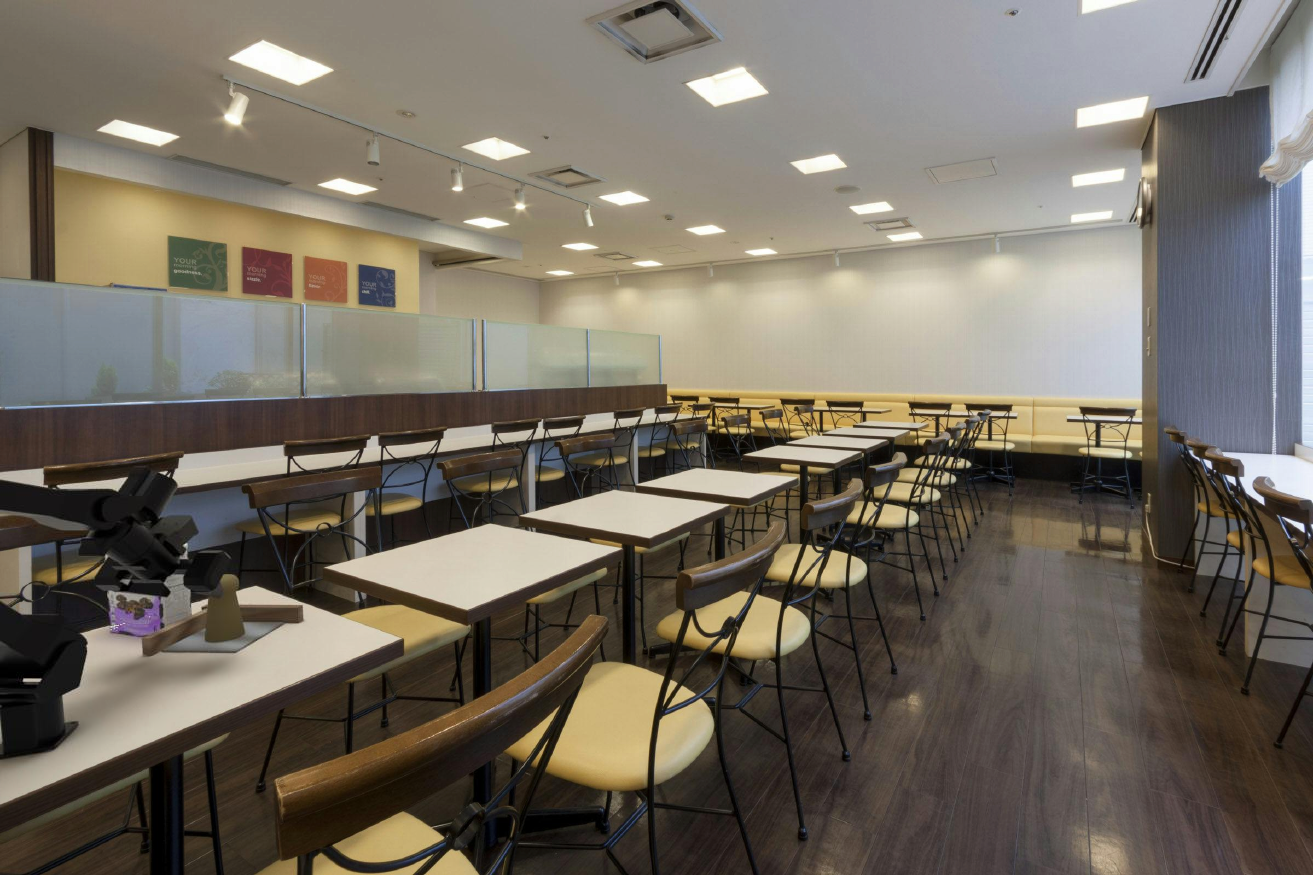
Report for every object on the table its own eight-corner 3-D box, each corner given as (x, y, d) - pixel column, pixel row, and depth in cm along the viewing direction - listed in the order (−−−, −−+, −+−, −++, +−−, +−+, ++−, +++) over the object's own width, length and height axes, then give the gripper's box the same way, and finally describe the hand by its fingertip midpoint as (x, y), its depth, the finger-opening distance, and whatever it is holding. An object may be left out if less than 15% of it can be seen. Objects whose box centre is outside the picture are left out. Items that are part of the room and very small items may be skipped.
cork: (237, 640, 111) (233, 579, 110) (198, 644, 110) (193, 582, 109) (250, 627, 117) (246, 569, 116) (213, 631, 116) (208, 572, 115)
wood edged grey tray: (243, 656, 105) (242, 639, 105) (134, 655, 106) (132, 638, 106) (303, 620, 122) (302, 604, 121) (208, 619, 123) (207, 604, 122)
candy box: (108, 632, 117) (100, 544, 115) (142, 621, 122) (135, 537, 121) (162, 640, 112) (155, 549, 111) (195, 628, 118) (188, 541, 117)
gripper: (219, 501, 100) (269, 553, 111) (105, 501, 100) (167, 552, 112) (182, 564, 92) (240, 612, 104) (60, 564, 93) (131, 611, 105)
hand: (194, 594), depth 107 cm, fingers open, 9 cm apart
